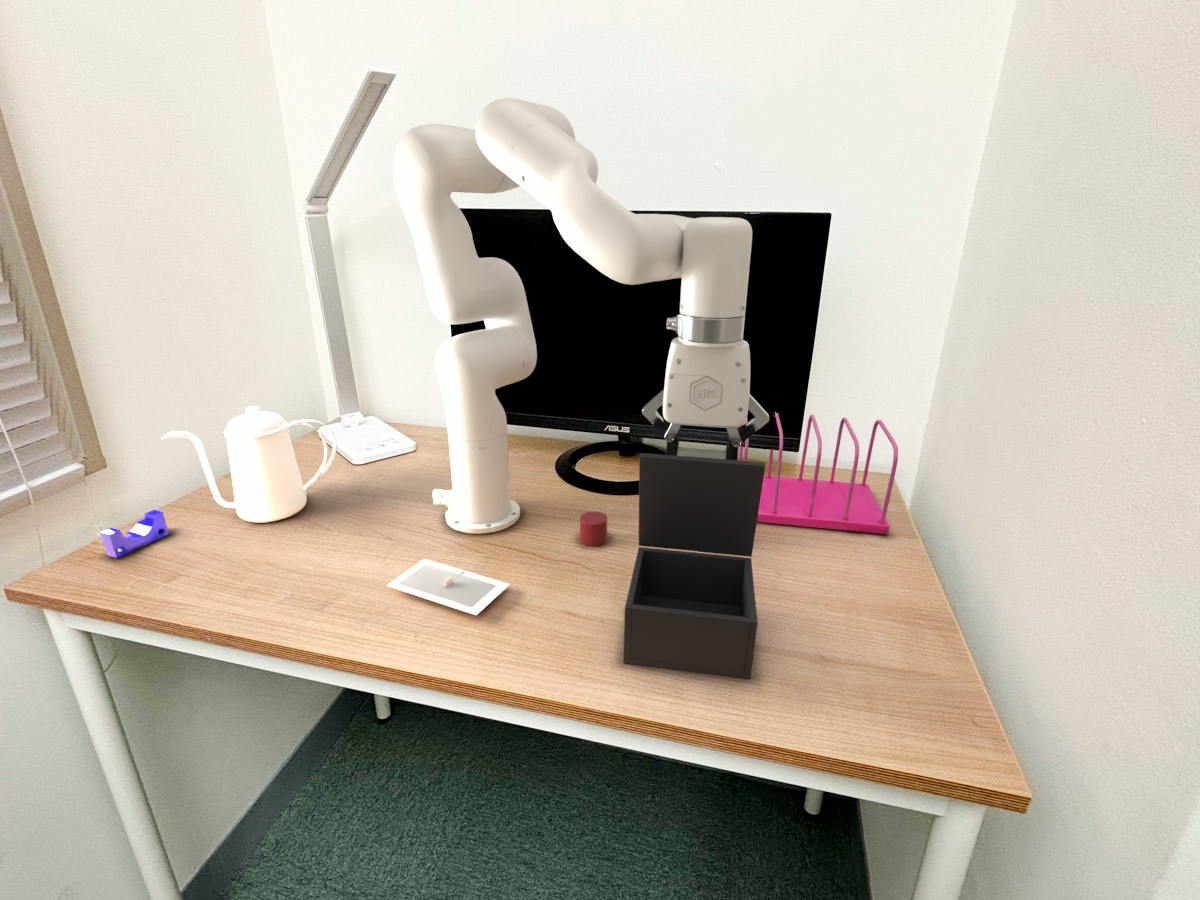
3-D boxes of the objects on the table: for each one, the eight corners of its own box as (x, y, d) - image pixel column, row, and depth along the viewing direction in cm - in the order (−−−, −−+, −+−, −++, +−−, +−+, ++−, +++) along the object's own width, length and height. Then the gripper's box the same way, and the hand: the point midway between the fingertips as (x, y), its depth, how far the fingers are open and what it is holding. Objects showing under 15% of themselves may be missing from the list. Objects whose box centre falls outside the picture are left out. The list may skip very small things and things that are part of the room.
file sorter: (888, 536, 101) (906, 447, 95) (732, 521, 106) (741, 435, 100) (866, 492, 117) (881, 413, 111) (732, 480, 121) (739, 404, 116)
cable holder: (153, 530, 100) (147, 508, 99) (168, 534, 99) (162, 511, 98) (101, 553, 94) (93, 530, 92) (116, 558, 92) (109, 534, 91)
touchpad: (476, 622, 79) (475, 608, 78) (387, 592, 85) (385, 578, 84) (510, 590, 86) (509, 577, 85) (425, 565, 92) (423, 552, 91)
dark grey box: (750, 679, 70) (757, 622, 67) (623, 663, 72) (624, 607, 69) (745, 608, 82) (751, 557, 80) (636, 596, 85) (638, 546, 82)
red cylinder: (577, 545, 97) (577, 522, 96) (582, 531, 102) (582, 510, 100) (604, 547, 97) (605, 525, 95) (609, 534, 101) (609, 512, 99)
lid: (765, 466, 71) (763, 439, 76) (639, 456, 73) (644, 431, 78) (751, 557, 79) (750, 528, 84) (638, 545, 81) (643, 518, 86)
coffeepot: (180, 521, 103) (151, 414, 96) (332, 481, 119) (317, 387, 112) (193, 546, 96) (163, 433, 89) (353, 501, 111) (338, 401, 104)
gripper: (633, 332, 70) (629, 476, 77) (790, 338, 67) (772, 488, 74) (641, 321, 77) (637, 454, 84) (784, 327, 74) (767, 464, 81)
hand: (700, 469), depth 79 cm, fingers closed on lid, 6 cm apart
